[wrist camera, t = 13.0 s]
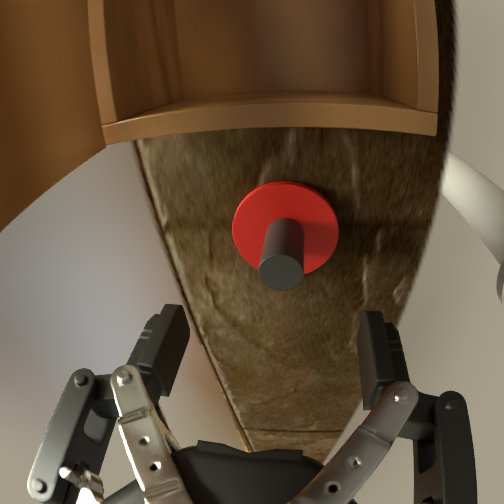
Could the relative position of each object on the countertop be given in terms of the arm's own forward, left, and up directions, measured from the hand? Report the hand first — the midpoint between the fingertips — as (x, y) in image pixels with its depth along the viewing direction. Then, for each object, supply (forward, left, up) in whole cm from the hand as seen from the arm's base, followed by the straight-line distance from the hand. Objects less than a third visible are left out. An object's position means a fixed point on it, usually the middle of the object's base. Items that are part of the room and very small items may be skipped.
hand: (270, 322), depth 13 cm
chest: (-4, -16, -8) cm, 18 cm away
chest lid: (0, -17, +6) cm, 18 cm away
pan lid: (0, 0, -8) cm, 8 cm away
